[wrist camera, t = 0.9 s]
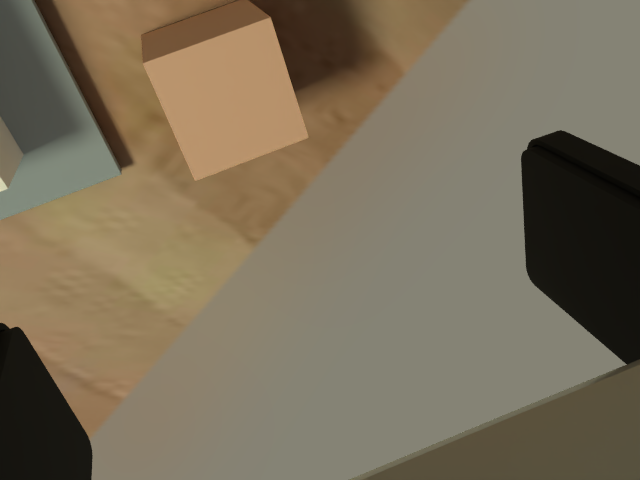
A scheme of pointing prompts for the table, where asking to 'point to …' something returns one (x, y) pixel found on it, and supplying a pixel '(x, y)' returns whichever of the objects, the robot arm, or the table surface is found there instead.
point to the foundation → (43, 118)
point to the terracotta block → (223, 87)
